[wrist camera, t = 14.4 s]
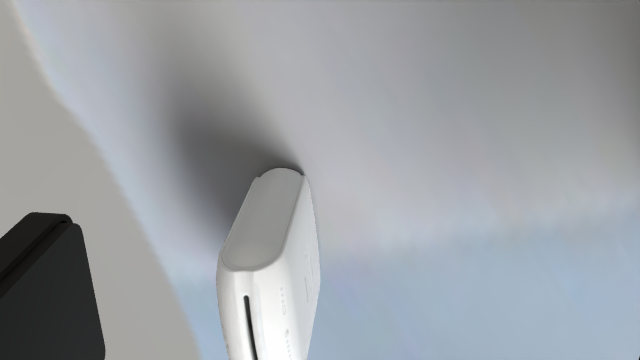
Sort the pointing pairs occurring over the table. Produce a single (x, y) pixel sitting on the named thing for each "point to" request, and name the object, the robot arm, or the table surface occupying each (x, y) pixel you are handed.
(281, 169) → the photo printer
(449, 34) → the table surface
